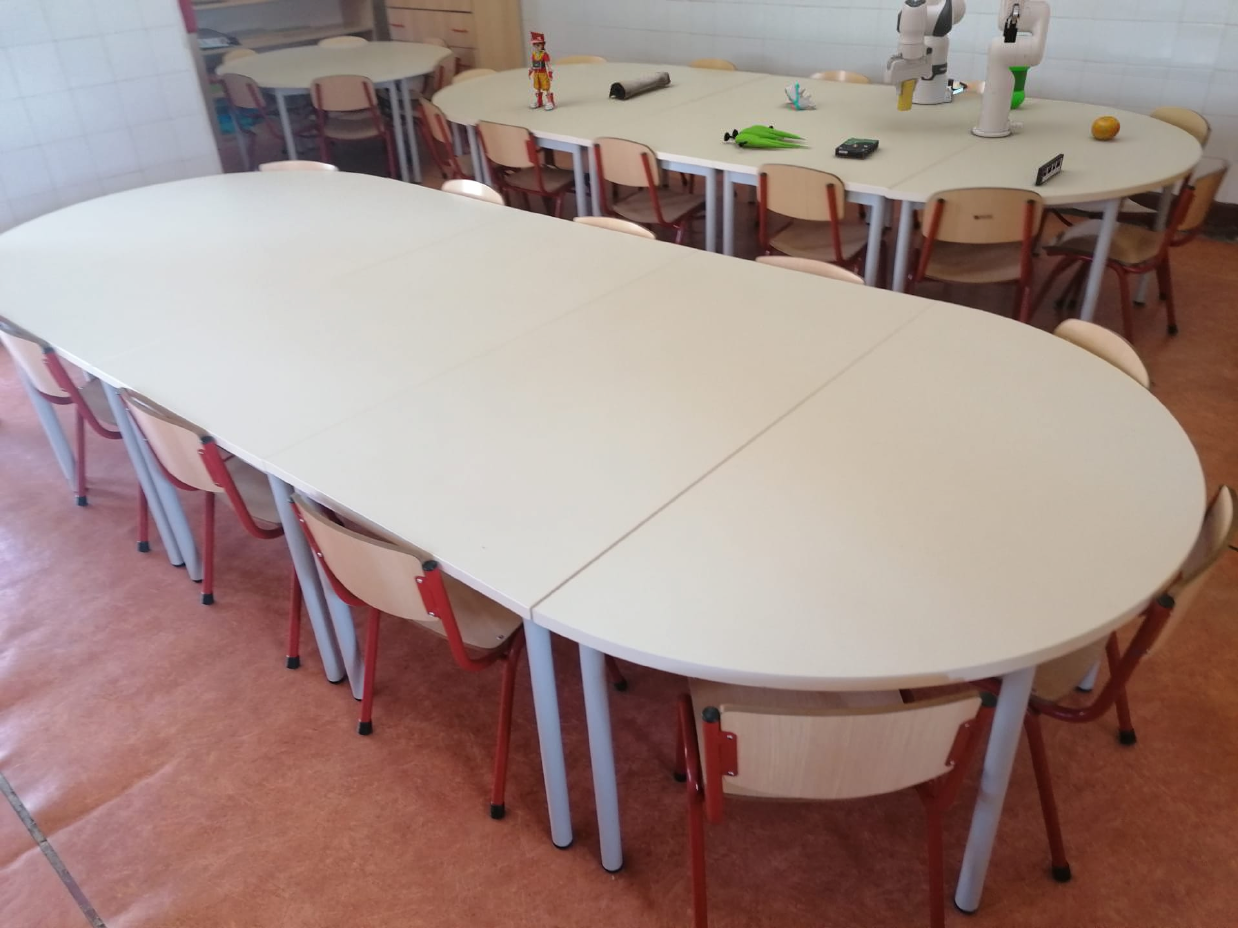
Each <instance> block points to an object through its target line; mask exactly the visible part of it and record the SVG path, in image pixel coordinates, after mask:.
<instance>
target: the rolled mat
mask: <svg viewBox="0 0 1238 928" xmlns="http://www.w3.org/2000/svg"><path fill="white" fill-rule="evenodd" d="M671 83H672V81H671V77H670V74H669V72H668V71H658V72H654V73H649V74H645V75H640V76H637V77H633V78H628V79H623V80H620V81H616V82H613V83H612V84H611V85H610V89H609V95H608V97H609V98H611V97H616V99H620V100H622V101H623V100H626V99H627V98H629V97H630V96H632V95H635V94H636V93H638V92H640V91H643V90H644V89H647V88H650V87H655V86H658V87H659V86H661V87H665V86H669V85H670V84H671Z"/></svg>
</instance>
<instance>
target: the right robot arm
mask: <svg viewBox="0 0 1238 928" xmlns="http://www.w3.org/2000/svg"><path fill="white" fill-rule="evenodd" d="M1050 19H1051V5H1050V3H1048V2H1047V1H1046V0H1000V4H999V11H998V17H997V27H998V29H999V31H1000V32H1003V33H1002V35H997V36H996V37H993V39H992V40H990V42H989V45H988V48H987V64H986V65H987V67H986V76H985V81H984V88H983V96H982V100H981V106H980V110H979V111H980V112H979V117H978V123H977V126H974V127H973V128H972V134H974V135H976V136H979V137H986V138H1002V137H1007V136H1009V135H1010V134H1011V130H1012V129H1021V128H1022V123H1023V122H1022V121H1021V122H1020V121H1019V122H1017V121H1015V120H1013V121H1010V119H1009V117H1010V110H1011V109H1010V106H1011V101H1012V96H1013V90H1014V85H1015V77H1014V75H1013V73H1012V72H1011V70H1010V69H1009V67H1014V66H1018V67H1030V68H1032V67H1037V66H1038V65H1040V63H1041V62H1042V60H1043V57H1044V54H1045V48H1046V43H1047V38H1048V37H1047V35H1048V32H1049V31H1048V30H1049V24H1050ZM1018 33H1030V34H1029V35H1028V34H1018Z"/></svg>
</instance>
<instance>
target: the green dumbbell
mask: <svg viewBox="0 0 1238 928" xmlns="http://www.w3.org/2000/svg"><path fill="white" fill-rule="evenodd" d="M1009 69H1010V70H1011V72H1012V73H1013V75H1014V77H1015V85H1014V90H1013V96H1012V101H1011V106H1010V110H1011V109H1017V108H1018V107H1019V106H1020V105H1022V104H1023V103H1024V101H1025V99H1026V91H1025V85H1026V81H1027V76H1028V71H1029V69H1031V67H1018V66H1014V67H1009Z"/></svg>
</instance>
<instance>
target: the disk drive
mask: <svg viewBox="0 0 1238 928" xmlns="http://www.w3.org/2000/svg"><path fill="white" fill-rule="evenodd" d="M879 145H880V140H879V139H870V138H869V139H868V138H855V137H850V138H848V139H846V140H845V141H844V142H843V143H841V144H840V145H838V146H837V147H835V151H834V156H836V157H842V158H849V159H865V158H867V157H868V156H870V155H871V154H872V153H873V152H875V151H876V150H877V149H878V148H879Z"/></svg>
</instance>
